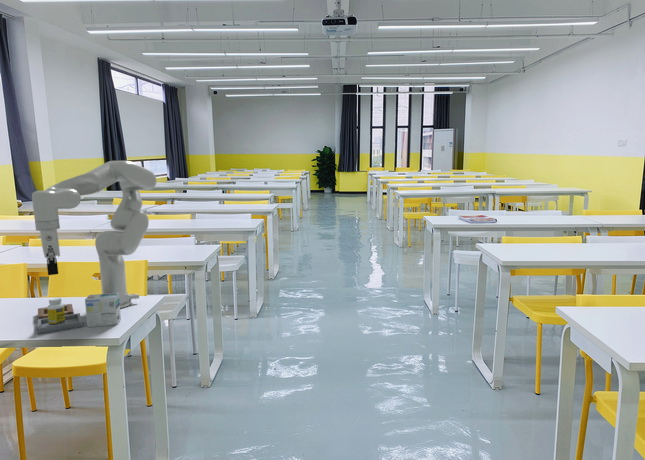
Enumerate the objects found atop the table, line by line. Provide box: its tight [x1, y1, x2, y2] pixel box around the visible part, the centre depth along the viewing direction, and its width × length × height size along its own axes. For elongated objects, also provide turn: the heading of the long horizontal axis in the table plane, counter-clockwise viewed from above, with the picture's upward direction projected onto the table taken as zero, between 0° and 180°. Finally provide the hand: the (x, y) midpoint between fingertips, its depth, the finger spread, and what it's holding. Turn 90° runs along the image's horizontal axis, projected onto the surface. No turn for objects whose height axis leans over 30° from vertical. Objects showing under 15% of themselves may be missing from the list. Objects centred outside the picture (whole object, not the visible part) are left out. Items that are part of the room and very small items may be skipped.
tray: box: [37, 312, 83, 335], centre depth 177 cm, size 14×12×2 cm
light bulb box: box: [84, 293, 122, 328], centre depth 179 cm, size 11×7×11 cm, turn 102°
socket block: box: [37, 303, 75, 320], centre depth 188 cm, size 12×12×2 cm
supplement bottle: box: [47, 296, 65, 326], centre depth 176 cm, size 5×5×10 cm
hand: (53, 271), depth 174 cm, fingers open, 9 cm apart
